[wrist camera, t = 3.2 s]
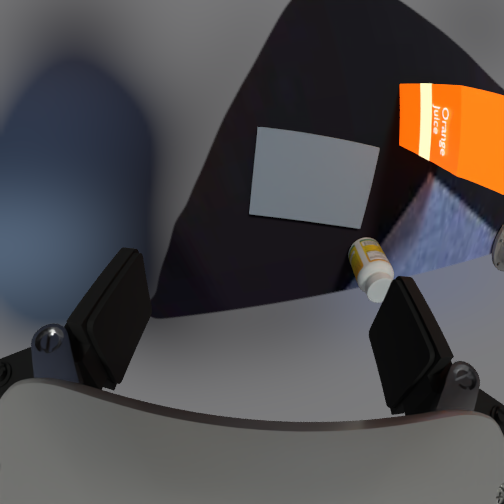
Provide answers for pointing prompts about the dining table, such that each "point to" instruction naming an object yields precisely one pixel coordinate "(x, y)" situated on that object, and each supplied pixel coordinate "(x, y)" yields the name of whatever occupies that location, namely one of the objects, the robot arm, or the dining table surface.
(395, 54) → the dining table surface
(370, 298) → the supplement bottle
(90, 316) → the robot arm
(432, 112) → the orange juice
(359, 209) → the felt mat
